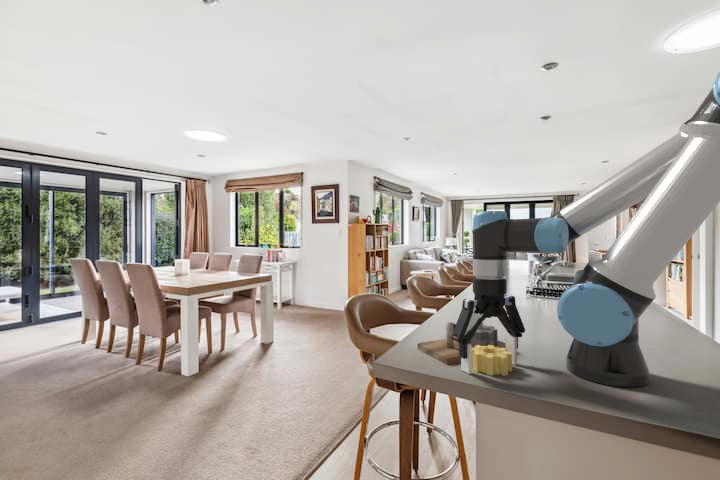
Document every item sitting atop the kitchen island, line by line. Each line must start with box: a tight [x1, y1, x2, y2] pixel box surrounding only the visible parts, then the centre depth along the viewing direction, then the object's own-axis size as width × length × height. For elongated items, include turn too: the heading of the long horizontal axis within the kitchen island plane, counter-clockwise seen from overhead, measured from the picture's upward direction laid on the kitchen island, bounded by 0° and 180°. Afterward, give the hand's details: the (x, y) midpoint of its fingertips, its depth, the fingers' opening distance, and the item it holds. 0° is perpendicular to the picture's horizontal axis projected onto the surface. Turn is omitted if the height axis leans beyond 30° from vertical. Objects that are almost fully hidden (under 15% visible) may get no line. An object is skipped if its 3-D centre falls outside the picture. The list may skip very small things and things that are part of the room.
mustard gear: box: [472, 345, 513, 377], centre depth 81 cm, size 9×9×4 cm
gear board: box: [417, 321, 506, 365], centre depth 94 cm, size 13×22×8 cm, turn 113°
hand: (489, 367), depth 82 cm, fingers open, 13 cm apart
